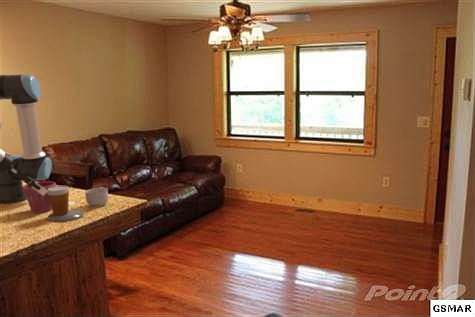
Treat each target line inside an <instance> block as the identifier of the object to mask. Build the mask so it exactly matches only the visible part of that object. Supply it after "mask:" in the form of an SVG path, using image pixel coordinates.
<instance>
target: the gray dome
mask: <svg viewBox="0 0 475 317" xmlns="http://www.w3.org/2000/svg"><path fill="white" fill-rule="evenodd" d="M83 217H84V211H83V210H79V209H68V213H67V214H65V215H60V216H56V215H53V212H52V213H50V214H48V215H47V219H48V221H50V222H52V221H53V222H54V223H65V222H72V221H75V220H76V221H77V220H79V219H81V218H83Z"/></svg>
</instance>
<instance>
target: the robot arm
mask: <svg viewBox="0 0 475 317" xmlns="http://www.w3.org/2000/svg"><path fill="white" fill-rule="evenodd" d="M41 88H42V87H41V85H40V83H39V81H38V79H37V77H35V76H33V75H31V74H0V100H11V104H12V105H13V106H14V107H15V110H16V116H17V122H18V127H19V133H20V134H19V135H20V139H21V145H22V151H23V152H22V154H21V156H20V155H19V154H18V155H17V154H14V155H9V154H8V153H6V152H5V151H4V150H3V149H1V148H0V205H1V204H2V205H4V204H5V205H6V204H15V203H20V202H23V201H27V197H26V195H25V194H24V191H23V186H24V185H23V182H24V183H25V185H26V184H28V185H29V188H31V187H32V188H33V189H34V190H36V191H37V192H39V193H40V194H42V195H43V196H44V195H45V194H46V193H47V192H48V190H46V189H45V188H43V187H42V186H41V185H39V184H38V183H36V181H46V180H47V179H49V177H50V175H51V172H52V168H53V167H52V166H53V165H52V164H53V163H52V160H51V158H50V157H49V156H48V157H47V153H46V152H45V151H43V148H42V142H41V137H40V130H39V128H40V127H39V123H38V116H37V115H38V114H37V110H36V105H37V104H38V102H39V101H38V100H39V99H40V98H41V96H42V94H41V93H42V89H41ZM1 128H2V123H1V122H0V130H1Z"/></svg>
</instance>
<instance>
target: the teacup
mask: <svg viewBox="0 0 475 317" xmlns="http://www.w3.org/2000/svg"><path fill="white" fill-rule="evenodd" d="M84 195H85V200H86V203H87V205H89V206H90V207H93V208H98V207H102V206H104V205H106V204H107V202H108V201H109V193H108V188H107V187H103V186H100V187H95V188H90V189H87V190H84Z"/></svg>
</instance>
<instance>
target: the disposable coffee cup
mask: <svg viewBox="0 0 475 317" xmlns="http://www.w3.org/2000/svg"><path fill="white" fill-rule="evenodd" d="M70 191H71V190H70V187H69V186H68V185H56V186H54V187H51V188H48V192H47V193H48V195H49V199H50V203H51V207H52V210H51V211H52V213H53V215H56V216H60V215H65V214H67V213H68V210H69V196H70V194H69V192H70Z"/></svg>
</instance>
